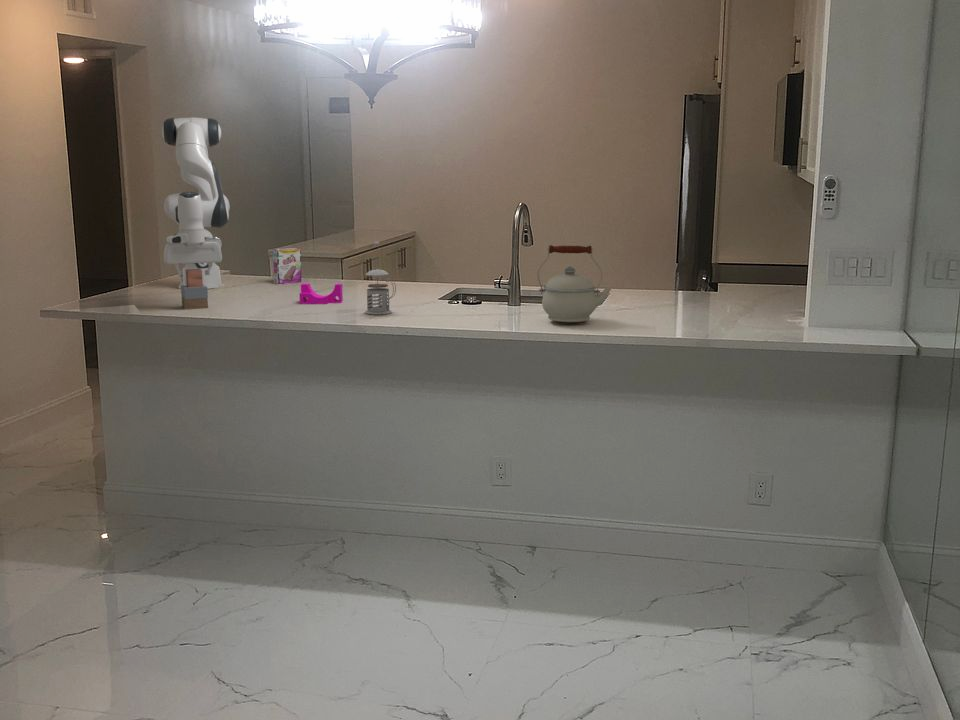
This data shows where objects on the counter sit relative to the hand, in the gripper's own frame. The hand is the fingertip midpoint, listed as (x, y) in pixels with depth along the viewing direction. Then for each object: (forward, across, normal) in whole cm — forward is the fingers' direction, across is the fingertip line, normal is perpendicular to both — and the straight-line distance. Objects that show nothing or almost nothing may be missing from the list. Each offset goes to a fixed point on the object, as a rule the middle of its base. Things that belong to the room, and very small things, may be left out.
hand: (194, 275), depth 343 cm
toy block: (+12, -44, +11) cm, 47 cm away
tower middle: (+8, 0, 0) cm, 8 cm away
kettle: (+12, -111, +83) cm, 139 cm away
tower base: (+12, 0, 0) cm, 12 cm away
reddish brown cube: (+4, 0, 0) cm, 4 cm away
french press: (+12, -57, +41) cm, 71 cm away
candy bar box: (+12, -45, -43) cm, 63 cm away
